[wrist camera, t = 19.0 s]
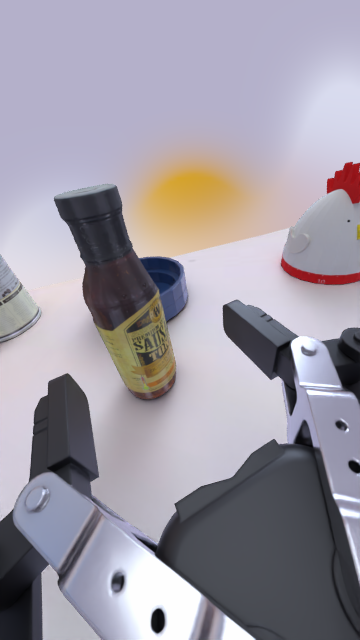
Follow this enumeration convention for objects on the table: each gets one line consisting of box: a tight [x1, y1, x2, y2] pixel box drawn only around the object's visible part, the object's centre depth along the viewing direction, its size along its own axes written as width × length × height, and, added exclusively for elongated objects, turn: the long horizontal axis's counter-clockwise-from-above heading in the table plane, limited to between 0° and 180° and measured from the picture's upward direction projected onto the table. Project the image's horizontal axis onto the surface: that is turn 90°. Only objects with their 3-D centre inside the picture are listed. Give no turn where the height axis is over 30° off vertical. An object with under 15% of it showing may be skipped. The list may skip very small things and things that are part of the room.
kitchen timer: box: [281, 162, 360, 284], centre depth 34 cm, size 14×14×15 cm
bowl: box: [139, 257, 188, 321], centre depth 37 cm, size 15×15×5 cm
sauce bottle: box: [54, 184, 176, 399], centre depth 20 cm, size 7×6×20 cm
